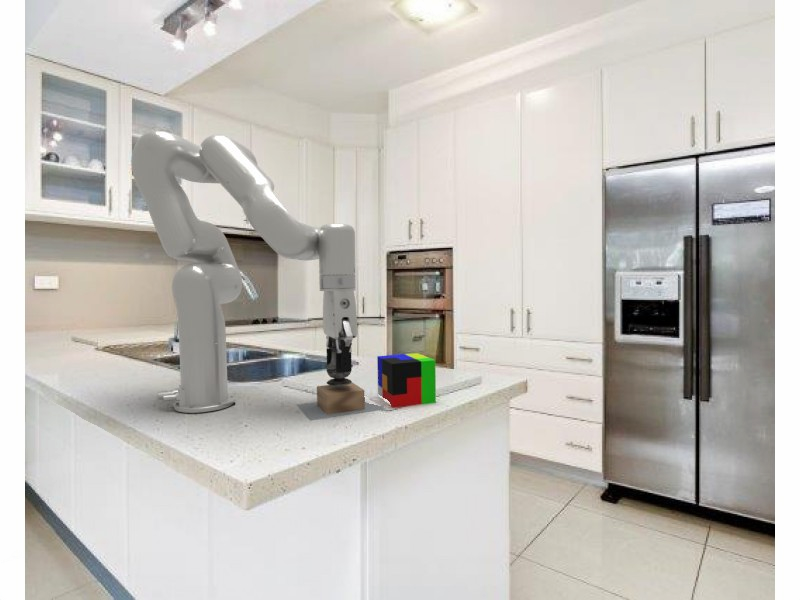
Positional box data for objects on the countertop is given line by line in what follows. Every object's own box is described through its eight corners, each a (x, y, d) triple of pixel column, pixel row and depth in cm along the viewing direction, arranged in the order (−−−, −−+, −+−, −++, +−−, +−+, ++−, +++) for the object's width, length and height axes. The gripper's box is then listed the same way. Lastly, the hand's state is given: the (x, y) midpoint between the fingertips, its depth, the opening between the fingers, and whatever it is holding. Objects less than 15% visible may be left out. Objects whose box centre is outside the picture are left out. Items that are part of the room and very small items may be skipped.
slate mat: (309, 423, 87) (309, 420, 87) (296, 407, 98) (296, 404, 98) (386, 411, 94) (386, 409, 94) (365, 398, 104) (365, 395, 104)
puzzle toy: (378, 399, 104) (377, 356, 103) (417, 394, 107) (417, 353, 107) (392, 410, 95) (392, 363, 94) (435, 405, 98) (435, 360, 98)
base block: (327, 414, 90) (326, 394, 90) (317, 404, 98) (316, 386, 97) (364, 409, 94) (364, 390, 93) (352, 399, 101) (351, 382, 101)
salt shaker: (320, 382, 96) (319, 326, 95) (344, 378, 99) (344, 324, 99) (333, 387, 91) (332, 328, 91) (358, 383, 95) (357, 326, 94)
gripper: (369, 284, 88) (370, 375, 89) (342, 283, 104) (343, 360, 105) (331, 284, 85) (333, 379, 86) (310, 283, 101) (311, 363, 101)
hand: (338, 368), depth 95 cm, fingers closed on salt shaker, 5 cm apart
